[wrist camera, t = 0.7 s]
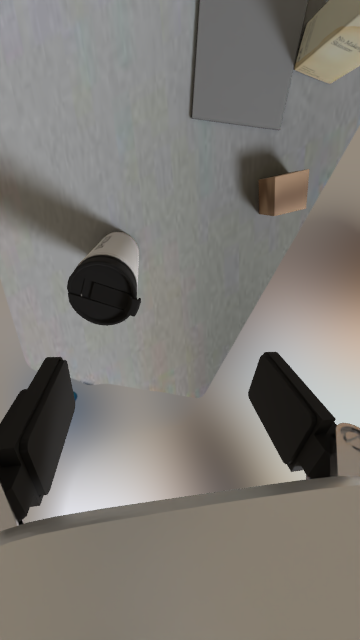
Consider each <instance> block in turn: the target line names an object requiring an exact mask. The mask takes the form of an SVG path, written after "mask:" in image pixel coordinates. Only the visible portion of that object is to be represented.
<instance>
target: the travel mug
mask: <svg viewBox="0 0 360 640" xmlns="http://www.w3.org/2000/svg"><path fill="white" fill-rule="evenodd" d="M138 265H139V249H138V245H137V243H136V242H135V240H134V239H133V238H132V237H131V236H130V235H128V234H126V233H124V232H118V231H117V232H112V233H109V234H108V235H106V236H105V237H104V238H103V239H102V240H101V241H100V242H99V243H98V244H97V246H96V247H95V248H94V249H93V250H92V251H91V252H90V253H89V254H88V255H87V256H86V257H85V258H84V259H83V260H82V261H81V262H80V263H79V264H78V266H77V267H76V269H75V270H74V272H73V273H72V274H71V276H70V277H69V280H68V285H67V289H68V292H69V293H68V297H69V302H70V304H71V305H72V307H73V309H74V310H75V311H76V312H77V313H78V314H79V315H80V316H81V317H83V318H84V319H86V320H87V321H90V322H92V323H94V324H99V325H114V324H118V323H120V322H122V321H124V320H125V319H127V318H128V317H129V316H130V315H131V316H135V315H136V313H137V311H138V309H139V306H140V303H141V298H139V299H138V300H137V290H138Z"/></svg>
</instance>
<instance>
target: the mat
mask: <svg viewBox="0 0 360 640" xmlns="http://www.w3.org/2000/svg"><path fill="white" fill-rule="evenodd" d="M307 3H308V0H199V15H198V30H197V45H196V61H195V76H194V91H193V106H192V119H199V120H207V121H214V122H221V123H229V124H236V125H244V126H251V127H259V128H266V129H273V130H280V128H281V124H282V119H283V114H284V110H285V105H286V101H287V96H288V91H289V87H290V82H291V77H292V73H293V68H294V63H295V59H296V54H297V50H298V45H299V40H300V36H301V31H302V26H303V22H304V17H305V13H306V8H307Z"/></svg>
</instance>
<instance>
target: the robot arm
mask: <svg viewBox="0 0 360 640" xmlns="http://www.w3.org/2000/svg"><path fill="white" fill-rule="evenodd" d="M248 396H249V399H250V401H251V403H252V405H253V406H254V409H255V410H256V412H257V414H258V416H259V418H260V420H261V422H262V423H263V425H264V427H265V429H266V431H267V433H268V435H269V437H270V438H271V440H272V442H273V444H274V446H275V448H276V449H277V451H278V453H279V455H280V457H281V459H282V460H283V462H284V463H285V464H287V465H288V467H289V469H290V470H291V472H293V471H300V470H304V471H305V473H306V480H300V481H292V482H285V483H278V484H271V485H264V486H256V487H249V488H242V489H235V490H228V491H221V492H214V493H207V494H200V495H193V496H186V497H179V498H172V499H165V500H159V501H152V502H146V503H138V504H132V505H125V506H118V507H112V508H105V509H99V510H93V511H87V512H81V513H75V514H69V515H63V516H57V517H52V518H47V519H43V520H38V521H33V522H29V523H24V520H23V519H24V518H25V517H26V516H27V513H28V510H29V507H33V506H40V504H41V501H42V498H43V495H47V494H48V492H49V491H50V488H51V485H52V481H53V478H54V475H55V472H56V469H57V465H58V462H59V459H60V455H61V452H62V449H63V446H64V443H65V439H66V436H67V433H68V429H69V426H70V423H71V420H72V417H73V413H74V409H75V399H74V394H73V389H72V384H71V379H70V374H69V369H68V364H67V361H66V360H63V359H62V357H47V358H46V359H45V360H44V362H43V363H42V365H41V367H40V369H39V370H38V372H37V374H36V375H35V377H34V379H33V381H32V382H31V384H30V386H29V387H28V389H24V390H22V391H21V392H20V393H19V394H18V396H17V398H16V400H15V401H14V402H13V404H12V405H11V407H10V409H9V410H8V412H7V414H6V415H5V417H4V419H3V420H2V422H1V423H0V640H360V428H359V427H356V426H355V425H352V424H348V423H340V424H338V425H336V424H335V423H334V421H335V418H334V417H333V415H332V414H331V413H330V412H329V411H328V410H327V409H326V407H325V406H324V405H323V404H322V403H321V402H320V401H319V399H318V398H317V397H316V396H315V395H314V394H313V393H312V391H311V390H310V389H309V388H308V387H307V386H306V385H305V384H304V382H303V381H302V380H301V379H300V378H299V377H298V375H297V374H296V373H295V372H294V371H293V370H292V369H291V368H290V366H289V365H288V364H287V363H286V362H285V361H284V360H283V358H282V357H281V356H280V355H279V354H278V353H277V352H265V353H264V354H263V355H262V356H261V357H260V359H259V362H258V366H257V368H256V371H255V374H254V377H253V380H252V383H251V386H250V389H249V392H248Z"/></svg>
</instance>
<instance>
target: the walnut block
mask: <svg viewBox="0 0 360 640" xmlns="http://www.w3.org/2000/svg"><path fill="white" fill-rule="evenodd" d="M308 178H309V169H307V170H302V171H296V172H290V173H286V174H281V175H277V176H273V177H269V178H264V179H260V180H259V214H263V215H270V216H277V215H281V214H285V213H289V212H293V211H297V210H302V209H306V202H307V190H308Z"/></svg>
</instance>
